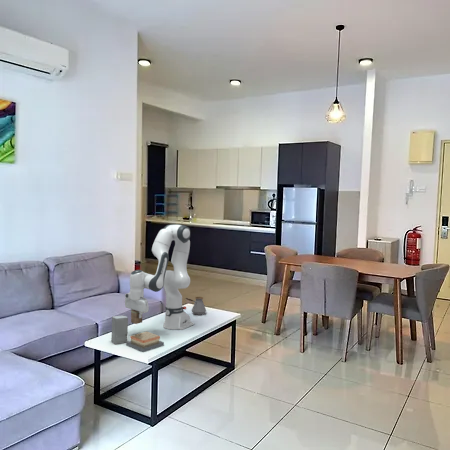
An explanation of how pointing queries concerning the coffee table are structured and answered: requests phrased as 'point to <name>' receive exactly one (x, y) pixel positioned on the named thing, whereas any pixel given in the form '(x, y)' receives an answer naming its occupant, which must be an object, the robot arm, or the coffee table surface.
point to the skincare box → (119, 329)
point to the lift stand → (144, 341)
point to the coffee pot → (198, 306)
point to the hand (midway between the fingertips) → (136, 316)
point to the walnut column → (135, 317)
